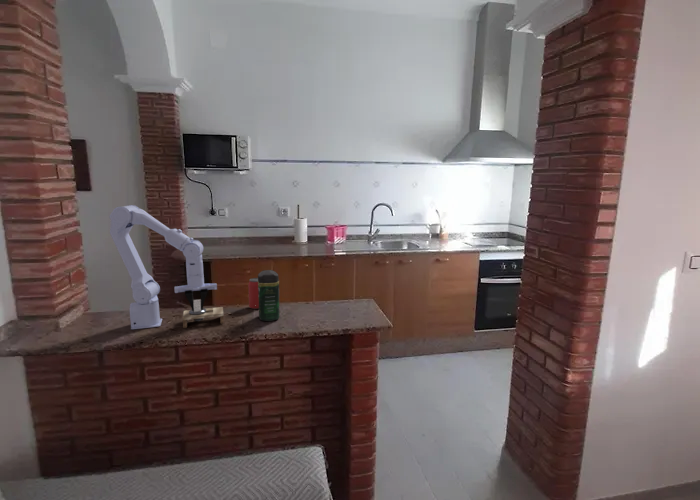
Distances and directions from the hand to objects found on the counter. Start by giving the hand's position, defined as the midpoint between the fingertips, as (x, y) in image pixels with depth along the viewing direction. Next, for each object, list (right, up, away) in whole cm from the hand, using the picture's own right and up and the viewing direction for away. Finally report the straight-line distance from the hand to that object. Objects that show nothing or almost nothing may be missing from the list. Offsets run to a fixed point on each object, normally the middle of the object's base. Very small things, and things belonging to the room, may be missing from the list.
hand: (197, 309), depth 145 cm
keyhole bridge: (+2, -5, +2) cm, 6 cm away
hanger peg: (0, -4, +1) cm, 4 cm away
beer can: (+18, -2, +20) cm, 27 cm away
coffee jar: (+25, -4, +7) cm, 27 cm away
